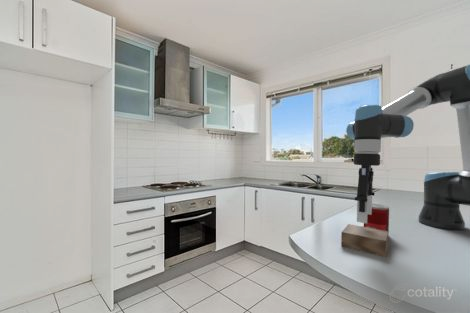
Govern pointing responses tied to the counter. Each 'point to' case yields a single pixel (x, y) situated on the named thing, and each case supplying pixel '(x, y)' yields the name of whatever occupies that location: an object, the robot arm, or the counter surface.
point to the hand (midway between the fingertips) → (364, 217)
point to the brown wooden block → (365, 239)
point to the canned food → (378, 218)
